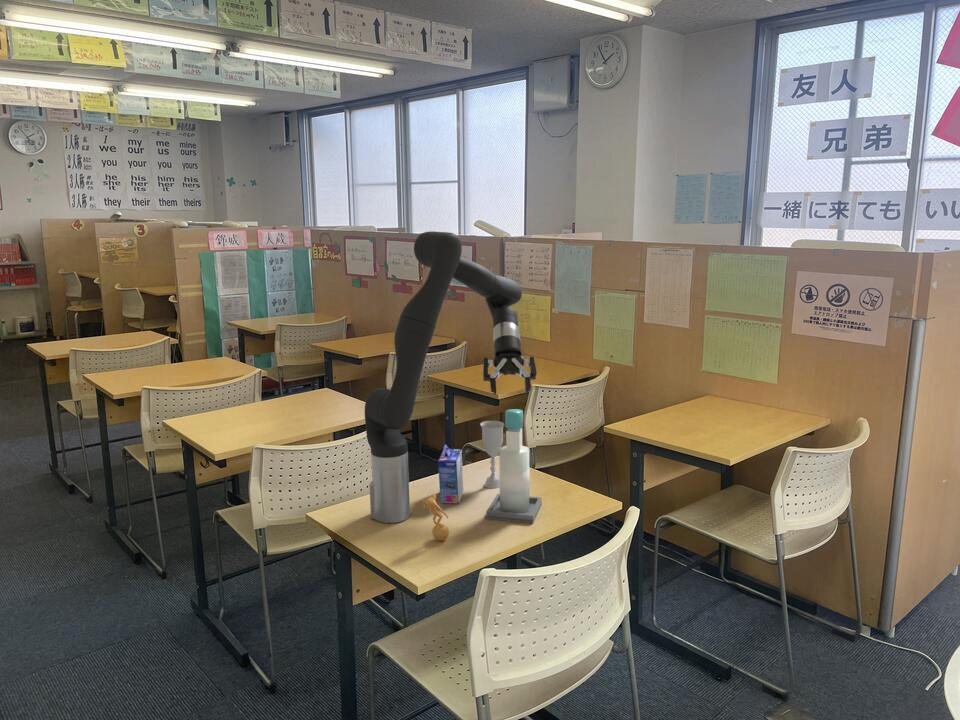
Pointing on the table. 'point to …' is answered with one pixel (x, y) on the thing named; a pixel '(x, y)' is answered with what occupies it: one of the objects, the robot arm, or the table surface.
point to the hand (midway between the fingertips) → (511, 392)
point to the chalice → (492, 447)
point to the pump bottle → (514, 484)
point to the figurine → (439, 530)
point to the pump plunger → (514, 419)
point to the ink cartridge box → (450, 475)
